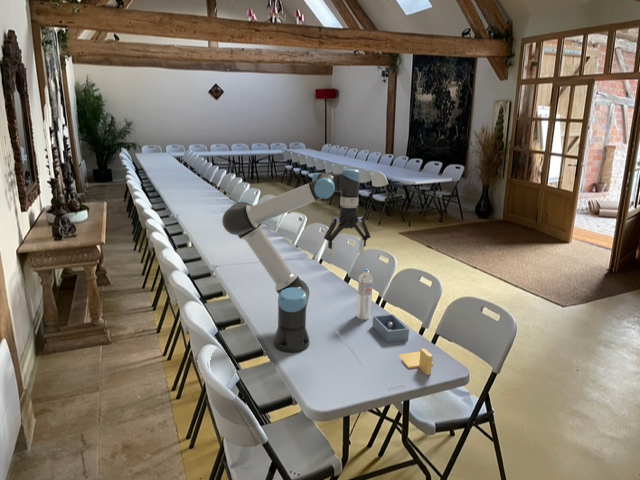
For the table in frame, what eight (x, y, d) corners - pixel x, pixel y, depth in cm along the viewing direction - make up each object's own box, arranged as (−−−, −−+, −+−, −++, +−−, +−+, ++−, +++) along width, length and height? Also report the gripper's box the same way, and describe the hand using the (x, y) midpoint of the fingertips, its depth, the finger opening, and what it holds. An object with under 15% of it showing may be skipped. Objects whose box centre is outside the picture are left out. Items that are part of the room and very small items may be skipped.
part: (394, 329, 216) (394, 323, 215) (388, 330, 215) (389, 323, 214) (391, 327, 218) (392, 321, 217) (386, 327, 218) (386, 321, 217)
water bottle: (359, 321, 224) (362, 272, 218) (354, 315, 231) (357, 267, 224) (372, 320, 226) (375, 271, 220) (367, 314, 233) (370, 266, 226)
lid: (416, 376, 179) (417, 357, 177) (390, 348, 200) (391, 331, 198) (441, 373, 182) (443, 354, 180) (412, 345, 203) (414, 328, 201)
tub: (387, 344, 204) (388, 331, 202) (372, 328, 218) (373, 316, 217) (408, 341, 207) (409, 329, 205) (391, 325, 221) (392, 314, 220)
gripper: (323, 208, 190) (321, 259, 196) (380, 207, 198) (376, 255, 204) (318, 205, 197) (316, 253, 203) (372, 203, 205) (369, 250, 210)
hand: (346, 254), depth 203 cm, fingers open, 13 cm apart
